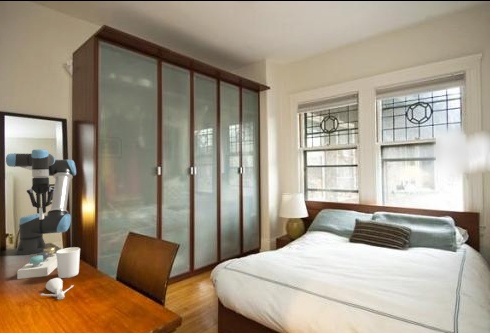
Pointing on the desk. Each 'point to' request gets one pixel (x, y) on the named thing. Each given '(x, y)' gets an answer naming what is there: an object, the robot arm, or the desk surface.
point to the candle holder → (68, 262)
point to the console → (38, 269)
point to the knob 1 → (36, 260)
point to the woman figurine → (55, 288)
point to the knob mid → (44, 255)
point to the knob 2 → (50, 250)
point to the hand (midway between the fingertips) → (41, 218)
